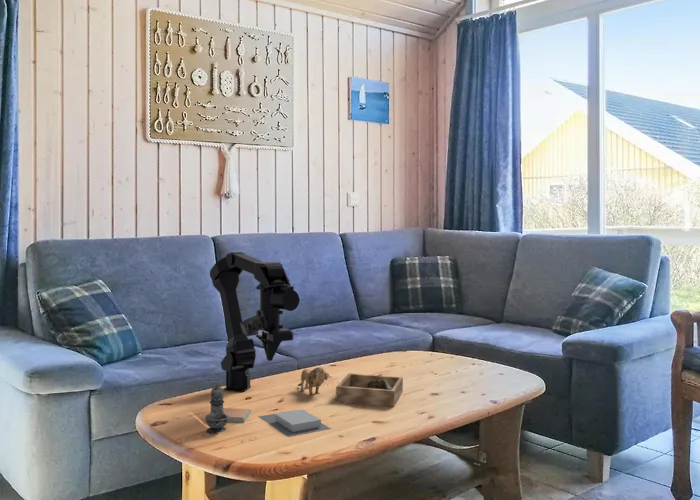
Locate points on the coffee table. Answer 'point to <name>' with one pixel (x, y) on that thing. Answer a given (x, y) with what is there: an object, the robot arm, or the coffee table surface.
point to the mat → (271, 420)
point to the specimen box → (368, 390)
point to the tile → (298, 420)
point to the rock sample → (379, 385)
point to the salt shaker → (216, 412)
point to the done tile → (237, 414)
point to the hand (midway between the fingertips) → (269, 360)
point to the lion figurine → (313, 379)
